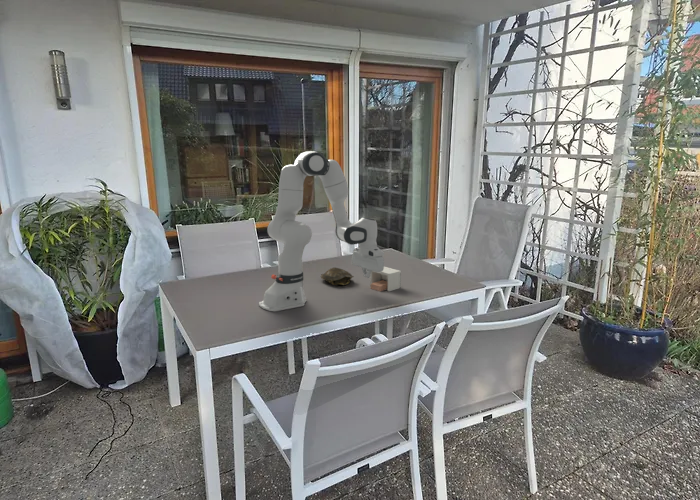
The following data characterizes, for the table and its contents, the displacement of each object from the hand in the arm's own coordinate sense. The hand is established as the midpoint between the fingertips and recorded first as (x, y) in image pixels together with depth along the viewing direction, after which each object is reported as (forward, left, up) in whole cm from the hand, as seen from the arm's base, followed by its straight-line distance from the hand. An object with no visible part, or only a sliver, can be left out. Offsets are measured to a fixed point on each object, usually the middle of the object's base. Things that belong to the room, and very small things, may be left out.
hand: (366, 277), depth 221 cm
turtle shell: (+1, +25, -8) cm, 26 cm away
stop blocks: (+16, 0, -8) cm, 18 cm away
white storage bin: (+14, 0, -8) cm, 16 cm away
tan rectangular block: (+11, 0, -8) cm, 14 cm away
